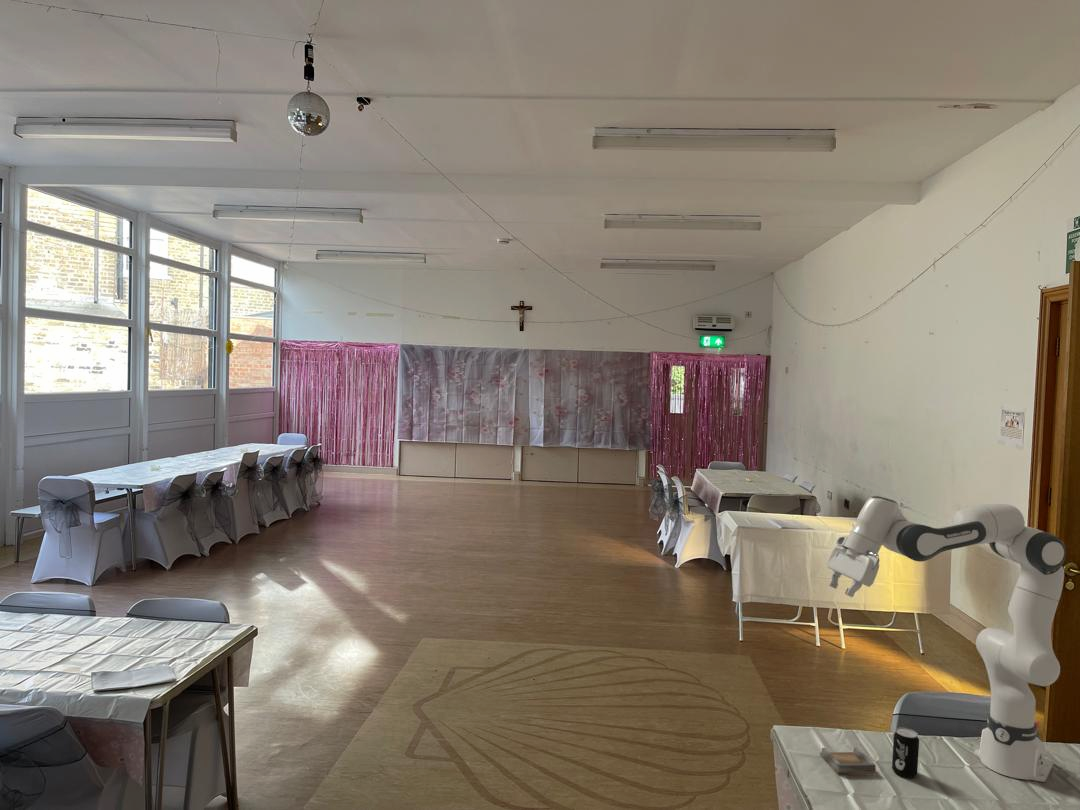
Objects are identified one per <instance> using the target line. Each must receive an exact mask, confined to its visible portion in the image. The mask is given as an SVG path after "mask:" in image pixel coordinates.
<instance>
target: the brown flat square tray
mask: <svg viewBox="0 0 1080 810" xmlns="http://www.w3.org/2000/svg"><path fill="white" fill-rule="evenodd" d="M819 756H820V757H821V758H822V759H823V761H825V762H826V764H827V765H828V764H829V765H828V766H829V767H830V768H831V769H832V770H833V771H834V772H835V773H836V774H837V776H868V775H867V774H875V775H876V764H875V763H874V762H873V760H871V759H870V758H868V757H867V755H866V754H865V753H863V752H862V751H861V749H860V748H859V747H857V746H856V747H853V751H852V752H850V751H849V752H847V751H846V752H845V751H844V752H843V751H841V752H837V751H836V752H830V751H829V750H828V749H827V747H821V752H820V753H819Z"/></svg>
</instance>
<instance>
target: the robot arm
mask: <svg viewBox="0 0 1080 810" xmlns="http://www.w3.org/2000/svg"><path fill="white" fill-rule="evenodd" d="M899 507H900V506H899V503H898V502H897V501H895V500H893V499H890V498H886V497H882V496H878V495H873V496H870V497H869V498H868V499H867V500H866V502H865V503H864V504H863V506H862V507H861V510H860V511H859V514H858V516H857V518H856V523H855V525H854V527H853V528H852V529H851V530H850V532H849V534H846V535H843V536H839V537H838V538H837V539H836V540H835V544H836V546H834V547H833V549H832V551H831V553H830V555H829V558H828V560H827V564H826V565H827V569H829V570H832V571H831V575H830V582H829V583H828V586H829V587H831V588H833V589H835V590H836V589H837V588H838V586H839V583H838V581H839V579H840V578H841V576H844V577H846V578H848V579H851V580H852V582H851V585H850V586H849V588H848V587H847V588H846V590H845V592H844V594H845V595H847V596H849V597H850V598H854V596H855V594H856V593H857V591H859V590H860V589H861V588H862V585H863V586H866V587H868V588H869V587H871V586H872V585H873V584H874V582H875V579H876V577H877V575H878V572H879V568H880V561H881V560H880V557H879V552H880V550H881V547H882V546H883V547H884V548H885V549H887V550H888V551H891V552H894V553H895V554H896V553H897V554H898V555H901V556H904V557H906V558H908V559H910V560H912V561H914V562H926V561H929V560H931V559H933V558H934V557H936V556H937V555H939V554H941V553H944V552H946V551H947V552H948V551H951V550H955V549H960V548H963V547H964V548H965V547H969V546H973V545H983V544H984V545H985V544H989V547H990V549H991V550H992V552H993V553H995V554H996V555H998V556H999V557H1001V558H1004V559H1007V560H1009V561H1012V562H1014V563H1016V564H1019V565H1020V574H1019V576H1018V579H1017V580H1016V582H1015V583H1016V584H1015V585H1014V587H1013V592H1012V595H1011V598H1010V600H1009V604H1008V607H1007V613H1008V616H1009V617H1010V618H1011V622H1012V626H1013V632H1010V631H1008V630H1006V629H1003V628H1002V629H1001V628H998V627H996V628H995V627H986V628H984V629H981V631H980V632H979V633H978V634H977V636H976V640H975V647H976V650H977V652H978V654H979V655H980V657H981V658H982V660H983V662H984V665H985V668H986V672H987V675H988V676H987V677H988V680H989V681H988V682H989V685H990V708H989V709H990V711H989V712H988V714H987V721H986V722H987V727H985V728H982V731H981V737H980V744H979V748H977V749H976V748H975V749H974V755H975V756H977V758H979V759H980V761H981V763H982V764H983V765H984V766H985V767H987V768H988V769H990V770H992V771H994V772H996V773H997V774H1000V775H1003V776H1006V777H1010V778H1013V779H1019V780H1028V781H1029V780H1032V781H1037V782H1042V783H1043V782H1044V783H1045V782H1046V781H1047V779H1048V777H1049V775H1050V773H1051V771H1052V768H1053V766H1054V760H1052V759H1051V758H1049V757H1048V756H1045V752H1046V749H1045V748H1046V747H1045V743H1044V742H1043V741H1041V739H1040V738H1039V737H1038V734H1037V733H1038V729H1039V727H1040V721H1038V720H1036V718H1035V717H1036V704H1037V703H1036V701H1037V700H1036V697H1035V694H1034V693H1033V692H1032V690H1031V688H1030V686H1029V684H1032V685H1036V686H1039V687H1040V686H1041V687H1048V686H1050V685H1052V684H1053V683H1055V682H1056V681H1057V680H1058V679H1059V676H1060V674H1061V665H1060V661H1059V660H1058V658H1057V657H1056V654H1055V652H1054V649H1053V642H1052V627H1053V622H1054V618H1055V614H1056V611H1057V608H1058V605H1059V601H1060V599H1061V596H1062V591H1063V588H1064V587H1063V586H1064V580H1065V569H1064V567H1063V564H1064V562H1065V561H1066V553H1067V552H1066V546H1065V543H1064V542H1063V540H1062V539H1060V537H1058V536H1056V535H1054V534H1052V533H1050V532H1048V531H1047V532H1046V531H1043V530H1041V529H1037V528H1035V527H1031V526H1025V523H1026V521H1025V517H1024V514H1023V513H1022V512H1021V510H1020V509H1018V508H1017V507H1016V506H1013V505H1011V504H1005V503H987V504H985V503H984V504H978V505H972V506H971V505H970V506H967V507H963V508H961V509H958V510H957V511H956V512H955V514H954V515H953V518H952V522H951V524H950V525H946V526H941V527H932V526H929V525H924V524H921V523H920V524H919V523H915V522H912V521H909V520H908V519H907V518H906V516H905V515H904V514H903V512H902V511H901V509H900V508H899ZM1028 683H1029V684H1028Z"/></svg>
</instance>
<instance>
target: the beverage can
mask: <svg viewBox="0 0 1080 810" xmlns="http://www.w3.org/2000/svg"><path fill="white" fill-rule="evenodd" d="M919 749H920V739H919V734H918V732H916V731H915V730H913V729H911V728H907V727H897V728H895V731H894V733H893V740H892V756H891V757H892V758H891V759H892V760H891V770H893V772H894V774H896V775H897V776H899V777H902V778H905V779H913V778H915V777H916V776H918V769H919V768H918V765H919V754H920V753H919V752H920V750H919Z"/></svg>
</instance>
